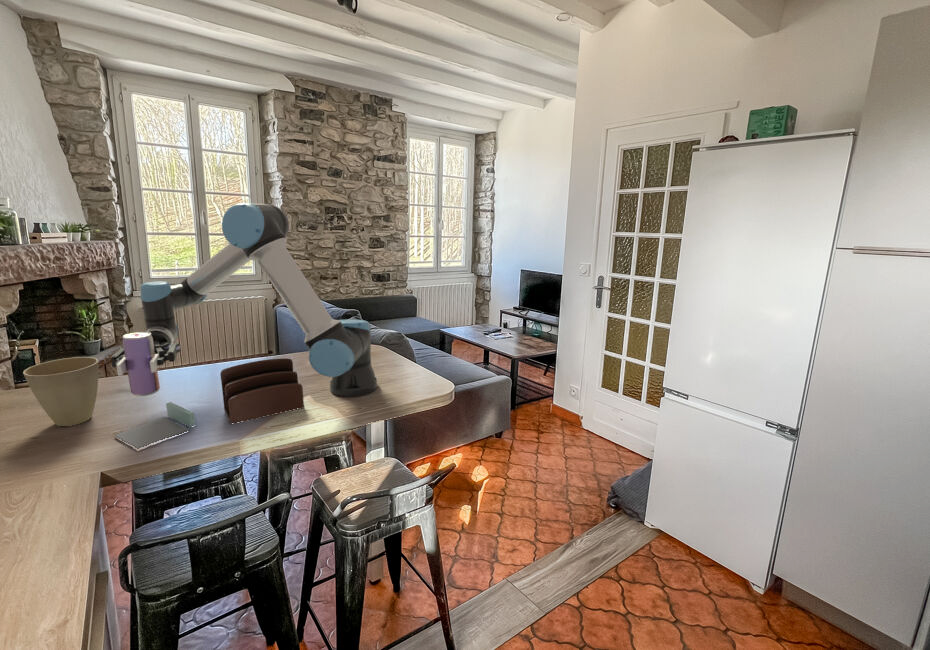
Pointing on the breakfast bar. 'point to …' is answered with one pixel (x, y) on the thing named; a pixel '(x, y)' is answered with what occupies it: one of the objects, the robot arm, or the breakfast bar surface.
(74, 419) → the plant pot
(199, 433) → the breakfast bar surface
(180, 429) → the slate coaster
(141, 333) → the beverage can
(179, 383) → the breakfast bar surface
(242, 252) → the robot arm
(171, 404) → the frosted wall
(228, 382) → the letter holder
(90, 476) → the breakfast bar surface
